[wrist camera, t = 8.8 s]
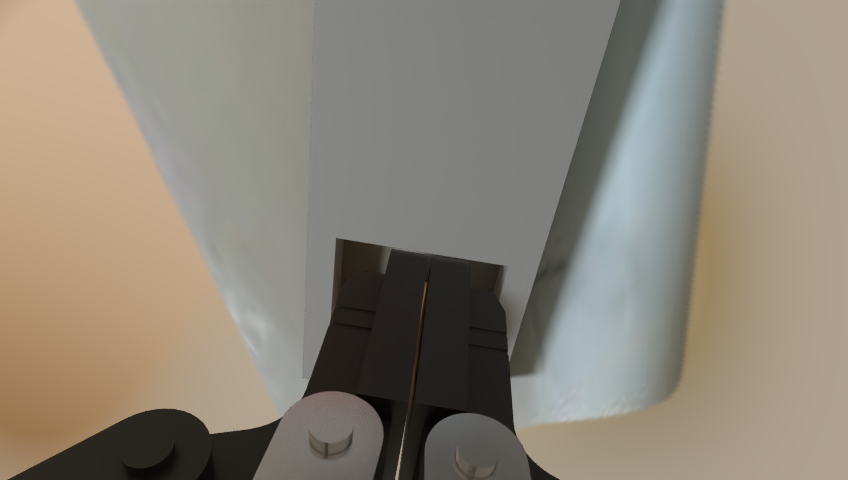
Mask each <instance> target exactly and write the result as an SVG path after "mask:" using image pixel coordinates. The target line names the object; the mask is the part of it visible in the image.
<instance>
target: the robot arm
mask: <svg viewBox="0 0 848 480" xmlns="http://www.w3.org/2000/svg"><path fill="white" fill-rule="evenodd" d="M428 258H429V255H426V254H420V253H414V252H408V251H401V250H395V249H391V253H390V257H389V261H388V265H387V269H386V273H385V274H378V273H372V272H366V271H360V270H359V271H358V272H357V273H356V274H355V275H354V276H353V277H352V278H350V279H349V280H348V281H347V282H346V283H345V284H344V285H343V286H342V289H341V292H340V294H339V297H338V300H337V303H336V307H335V309H334V312H333V314H332V317H331V320H330V325H329V326H328V329H327V332H326V334H325V337H324V340H323V343H322V346H321V349H320V352H319V354H318V357H317V360H316V363H315V366H314V369H313V372H312V375H311V377H310V380H309V383H308V386H307V389H306V391H305V393H304V396H303V397H302V399H301V400H300V401H298V402H296V403H295V404H294V405H293V406H291V407H290V408H289V409H288V411H287V412H286V413H285V414H284V416H283V417H282V418H280V419H278V420H277V421H274V422H272V423H270V424H268V425H264V426H261V427H258V428H253V429H248V430H240V431H233V432H224V433H217V434H209V431H208V429H207V428H206V426H205V425H204V423H203V422H202V421H200V420H199V419H198V418H197V417H195V416H194V415H192V414H190V413H187V412H185V411H181V410H176V409H156V410H150V411H145V412H142V413H139V414H135V415H133V416H131V417H128V418H126V419H124V420H122V421H120V422H118V423H116V424H114V425H113V426H110V427H109V428H107V429H105V430H103V431H101V432H99V433H97V434H95V435H93V436H91V437H89V438H87V439H85V440H84V441H82V442H80V443H78V444H76V445H74V446H72V447H70V448H68V449H66V450H64V451H62V452H60V453H58V454H56V455H55V456H53V457H51V458H49V459H47V460H45V461H43V462H41V463H39V464H37V465H35V466H33V467H31V468H29V469H27V470H26V471H24V472H22V473H20V474H18V475H16V476H14V477H12V478H10V479H8V480H395V476H396V471H397V465H398V460H399V454H400V449H401V444H402V438H403V433H404V440H403V447H402V454H401V462H400V470H399V477H398V480H559V479H558V478H556V477H554V476H552V475H550V474H549V473H547V472H546V471H544V470H543V469H542V468H540V467H539V466H538V465H537V464H536V463H535V462H534V461H532V459H531V458H530V457H529V456H528V455H527V453H526V452H525V450H524V448H523V446H522V444H521V443H520V441H519V439H518V438H517V436H516V433H515V429H514V423H513V409H512V395H511V381H510V367H509V355H508V339H507V337H506V336H507V325H506V312H505V310H504V309H503V307H502V305H501V304H500V302H499V300H498V299H497V297H496V296H495V294H494V292H490V291H484V290H478V289H472V288H469V287H470V262H469V261H464V260H458V259H451V258H445V257H439V256H433V255H432V258H431V263H430V269H429V274H428V280H427V285H426V291H425V297H424V302H423V295H424V288H425V281H426V273H427V266H428ZM422 303H423V308H422ZM421 310H422V313H421ZM420 318H421V319H420ZM406 416H407V418H406ZM405 422H406V425H405ZM404 427H405V432H404Z"/></svg>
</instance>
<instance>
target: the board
mask: <svg viewBox="0 0 848 480" xmlns="http://www.w3.org/2000/svg"><path fill="white" fill-rule="evenodd" d="M620 1H621V0H315V10H314V40H313V71H312V102H311V132H310V163H309V193H308V224H307V254H306V285H305V316H304V346H303V377H302V378H305V379H310V377H311V375H312V372H313V369H314V366H315V363H316V360H317V357H318V354H319V352H320V349H321V346H322V343H323V340H324V337H325V334H326V332H327V329H328V326H329V325H330V320H331V317H332V314H333V312H334V309H335V307H336V303H337V300H338V297H339V294H340V287H341V274H342V261H343V247H344V239H345V240H351V241H357V242H364V243H370V244H376V245H382V246H388V247H394V248H400V249H406V250H412V251H418V252H425V253H431V254H437V255H443V256H449V257H455V258H461V259H467V260H473V261H479V262H485V263H492V264H498V265H500V267H499V270H498V274H497V278H496V282H495V286H494V289H493V292H494V294H495V296H496V297H497V299H498V300H499V302H500V304H501V305H502V307H503V309H504V310H505V312H506V325H507V336H506V337H507V339H508V355H509V361H510V358H511V355H512V351H513V348H514V345H515V342H516V338H517V335H518V332H519V329H520V325H521V322H522V319H523V316H524V312H525V309H526V306H527V303H528V299H529V296H530V293H531V290H532V287H533V283H534V280H535V277H536V274H537V270H538V267H539V264H540V261H541V257H542V254H543V251H544V248H545V244H546V241H547V238H548V235H549V231H550V228H551V225H552V222H553V219H554V215H555V212H556V209H557V206H558V202H559V199H560V196H561V193H562V189H563V186H564V183H565V180H566V176H567V173H568V170H569V167H570V163H571V160H572V157H573V154H574V150H575V147H576V144H577V141H578V138H579V134H580V131H581V128H582V125H583V121H584V118H585V115H586V112H587V108H588V105H589V102H590V99H591V95H592V92H593V89H594V86H595V82H596V79H597V76H598V73H599V70H600V66H601V63H602V60H603V57H604V53H605V50H606V47H607V44H608V40H609V37H610V34H611V31H612V27H613V24H614V21H615V18H616V14H617V11H618V8H619V5H620Z"/></svg>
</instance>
